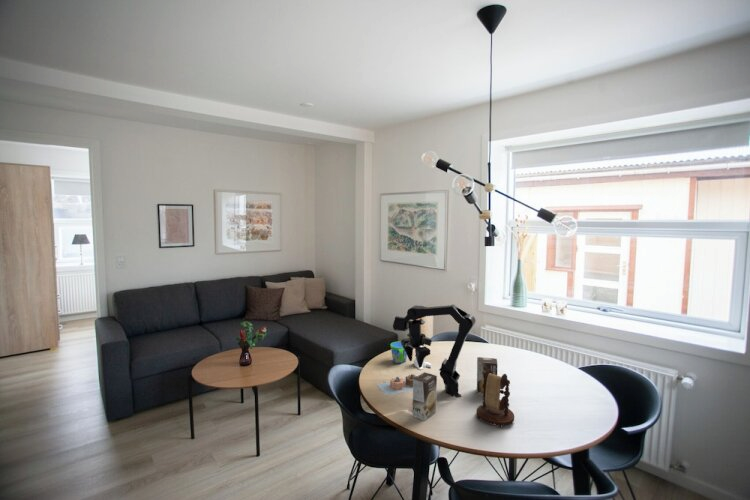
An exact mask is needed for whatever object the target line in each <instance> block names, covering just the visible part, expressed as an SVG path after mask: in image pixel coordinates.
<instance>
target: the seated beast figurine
mask: <svg viewBox="0 0 750 500" xmlns="http://www.w3.org/2000/svg"><path fill="white" fill-rule="evenodd" d="M420 347H424V346H420ZM415 350H416V349H415ZM415 350H414V351H415ZM425 359H426V358H424V361H423V364H422V367H421V368H419V366H418V363H417V359H416V357H415V358H414V360H413V364H414V366H415V367H416V368H417V369H418V371H422V370H423V368H427V369H431V368H432V367H433V366H432V363H430V362H427V361H425Z"/></svg>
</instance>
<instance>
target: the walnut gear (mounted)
mask: <svg viewBox="0 0 750 500" xmlns="http://www.w3.org/2000/svg"><path fill="white" fill-rule="evenodd" d="M417 376H418V375H416V374H413V373H411V374H409V375H407V376H405V379H406V385H409V386H410V387H411V386H413V378H415V377H417Z"/></svg>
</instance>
